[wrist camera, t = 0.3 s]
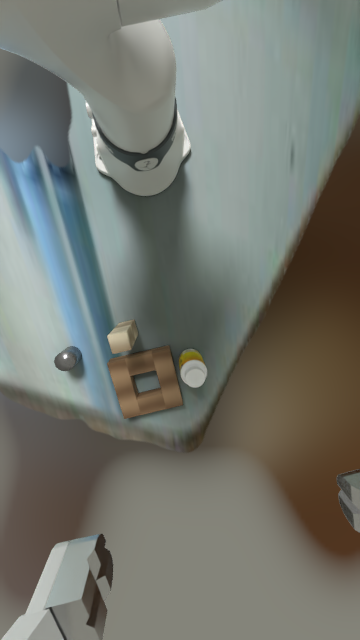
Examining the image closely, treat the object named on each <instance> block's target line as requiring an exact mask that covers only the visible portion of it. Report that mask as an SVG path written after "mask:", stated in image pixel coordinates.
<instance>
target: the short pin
mask: <svg viewBox="0 0 360 640" xmlns="http://www.w3.org/2000/svg"><path fill="white" fill-rule="evenodd" d="M81 356H82V355H81V351H80V350H79V349H78V348H76V347H73V346H71V347H68V348H66V349H65V350H64V351H62V352H61V353H60V354H58V355H57V356H56V357H55V360H54V363H55V366H56V367H57V368H58V369H59V370H61V371H68V370H70V369H72V368H73V367H74V366H75V364H76V363H77V362H78V361H79V360H80V359H81Z"/></svg>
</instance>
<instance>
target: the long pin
mask: <svg viewBox="0 0 360 640" xmlns="http://www.w3.org/2000/svg"><path fill="white" fill-rule="evenodd" d="M137 336H138V331H137V327H136V324H135V320H130V321H125V322H121V323H119V324H118V325H117V326H116V327H115V328H114V329H113V330H112V331H111V332H110V334H109V335H108V336H107V337H108V340H109V344H110V347H111V350H112V353H113V354H115V353H119V352H124V351H128V350H132V347H133V345H134V343H135V340H136V338H137Z"/></svg>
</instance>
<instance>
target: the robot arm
mask: <svg viewBox="0 0 360 640" xmlns="http://www.w3.org/2000/svg"><path fill="white" fill-rule="evenodd" d="M220 1H222V0H0V48H1V49H4V50H7V51H10V52H12V53H15V54H18V55H20V56H22V57H25V58H26V59H29V60H31V61H33V62H35V63H37V64H38V65H40V66H42V67H44V68H46V69H47V70H49V71H51V72H52V73H54V74H55V75H57V76H59V77H60V78H62V79H63V80H64V81H66V82H67V83H69V84H70V85H71V86H73V87H74V88H75V89H76V90H78V91H79V92H80V93H81V94H82V95H83V97H84V98H85V100H86V108H87V113H88V116H89V118H91V119H92V127H91V130H92V135H93V140H94V151H95V162H96V167H97V169H98V171H100V172H101V173H103V174H105V175H107V176H109V177H112V178H113V179H114V180H115V181H116V182H117V183H118V184H119V185H120V186H121V187H122V188H124V189H125V190H127V191H128V192H130V193H133V194H136V195H140V196H151V195H155V194H158V193H160V192H162V191H163V190H165V189H166V188H167V187H168V186H169V185H170V184H171V183H172V182H173V180H174V179H175V177H176V175H177V173H178V170H179V167H180V164H181V162H182V161H183V160H184V159H185V158H186V156H187V155H188V154H189V152H190V149H191V145H190V141H189V139H188V136H187V133H186V131H185V128H184V125H183V123H182V120H181V117H180V115H179V112H178V109H177V104H176V98H175V86H176V60H175V54H174V49H173V45H172V42H171V40H170V37H169V35H168V33H167V31H166V29H165V27H164V25H163V24H162V22H161V20H160V19H162V18H166V17H171V16H176V15H181V14H185V13H190V12H195V11H199V10H205V9H207V8H209V7H211V6H213V5H215V4H216V3H218V2H220ZM100 158H101V159H102V160H100ZM337 484H338V485H339V486H340V488H341V491H340V492H339V494H338V496H339V503H340V505H341V508H342V510H343V513H344V514H345V516H346V518H347V519H348V521H349V522H350V524H351V525H352V526H353V528H354V529H355V530H356V531H358V532H360V469H358V470H354V471H350V472H346V473H343V474H339V475H338V476H337ZM105 543H106V540H105V537H104V535H103V534H98V535H94V536H89V537H85V538H80V539H75V540H70V541H66V542H62V543H58V544H56V545H55V547H54V548H53V549H52V551H51V553H50V556H49V559H48V561H47V563H46V566H45V568H44V570H43V573H42V575H41V578H40V580H39V582H38V585H37V587H36V590H35V592H34V594H33V597H32V599H31V602H30V604H29V607H28V609H27V612H26V614H25V615H22V616H20V617H19V618H18V619H17V621H16V622H15V623H14V624H13V626H12V627H11V628H10V629H9V631H8V632H7V633H6V635H5V636H4V637H3V638H2V639H1V640H102V639H103V633H104V627H105V621H106V616H107V608H106V605H105V602H104V601H105V599H106V598H107V596H108V594H109V592H110V591H111V587H112V580H113V560H112V555H111V553H110V551H109V550H108V549H106V548H105Z"/></svg>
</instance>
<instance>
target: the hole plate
mask: <svg viewBox="0 0 360 640" xmlns="http://www.w3.org/2000/svg"><path fill="white" fill-rule="evenodd" d="M107 365H108V368H109V371H110V374H111V378H112V381H113V384H114V387H115V390H116V394H117V397H118V400H119V403H120V407H121V410H122V413H123V416H124V419H126V418H131V417H135V416H139V415H143V414H147V413H152V412H156V411H160V410H164V409H168V408H173V407H177V406H181V405H183V400H182V395H181V391H180V387H179V383H178V379H177V375H176V371H175V367H174V363H173V359H172V355H171V350H170V346H169V345H167V346H163V347H159V348H155V349H150V350H146V351H142V352H138V353H133V354H129V355H125V356H121V357H116V358H112V359H110V360H109V362H108V363H107ZM154 370H156V372H157V375H158V379H159V383H160V387H161V388H158V389H154V390H149V391H145V392H141V393H138V391H137V387H136V384H135V380H134V377H133V375H137V374H141V373H145V372H149V371H154Z"/></svg>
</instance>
